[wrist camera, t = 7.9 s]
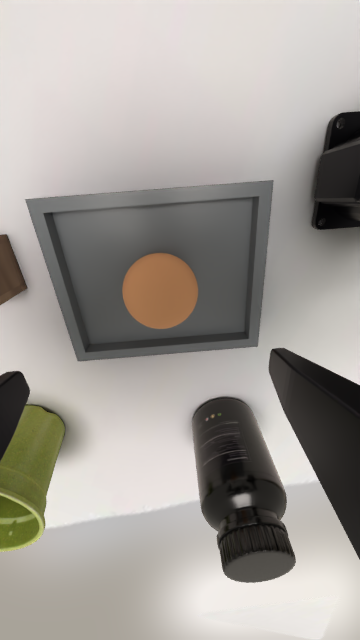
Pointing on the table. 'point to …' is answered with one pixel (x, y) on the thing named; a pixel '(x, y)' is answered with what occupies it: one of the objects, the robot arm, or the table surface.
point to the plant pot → (28, 477)
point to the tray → (157, 237)
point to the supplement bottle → (241, 492)
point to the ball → (160, 290)
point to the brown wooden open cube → (9, 272)
